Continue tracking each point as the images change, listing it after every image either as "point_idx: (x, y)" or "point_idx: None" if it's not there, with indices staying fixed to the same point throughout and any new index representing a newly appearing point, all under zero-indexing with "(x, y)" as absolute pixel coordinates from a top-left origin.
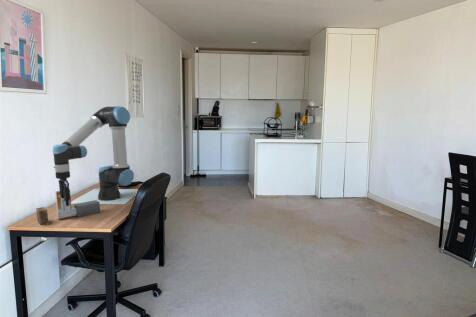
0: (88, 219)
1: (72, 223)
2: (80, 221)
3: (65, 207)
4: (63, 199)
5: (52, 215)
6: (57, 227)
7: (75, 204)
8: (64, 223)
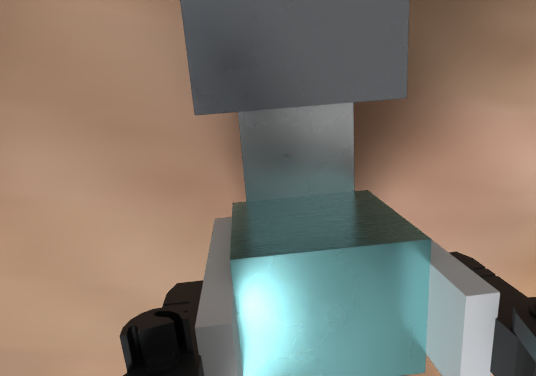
0: (522, 10)
1: (521, 189)
2: (521, 107)
3: None
4: (240, 371)
5: (90, 318)
6: None
7: (240, 95)
8: (462, 251)
